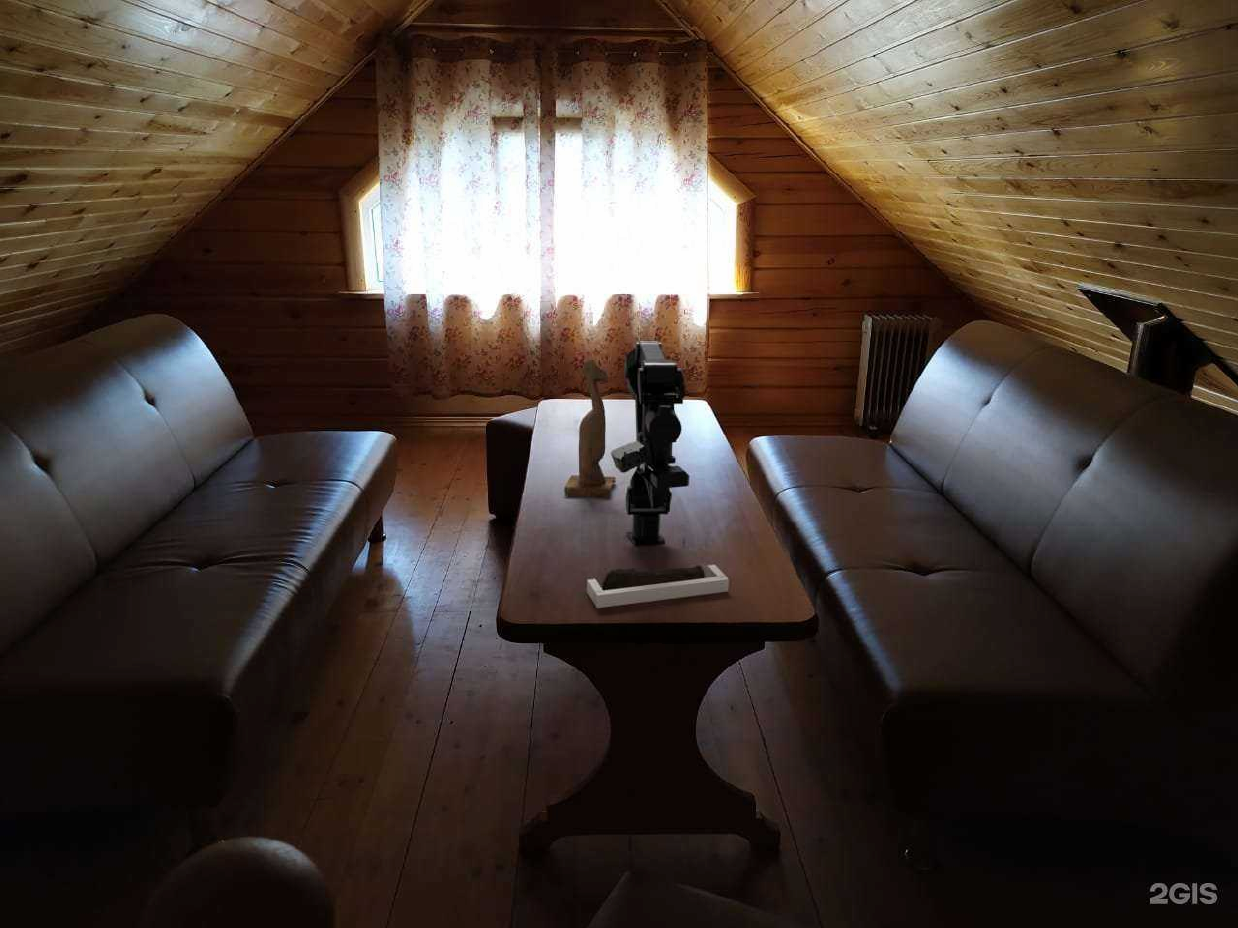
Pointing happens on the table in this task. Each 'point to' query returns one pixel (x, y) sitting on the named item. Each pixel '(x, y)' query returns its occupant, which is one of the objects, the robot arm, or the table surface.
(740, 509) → the table surface
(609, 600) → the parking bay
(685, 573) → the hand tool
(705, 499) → the table surface
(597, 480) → the bird sculpture
